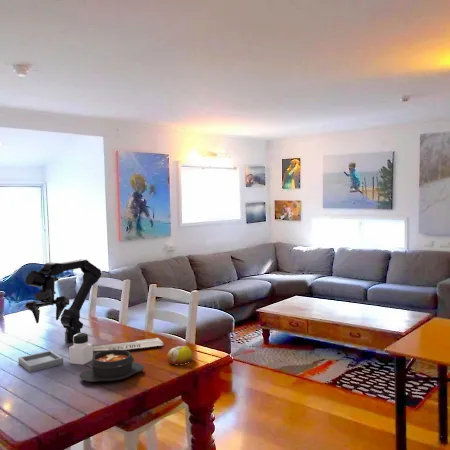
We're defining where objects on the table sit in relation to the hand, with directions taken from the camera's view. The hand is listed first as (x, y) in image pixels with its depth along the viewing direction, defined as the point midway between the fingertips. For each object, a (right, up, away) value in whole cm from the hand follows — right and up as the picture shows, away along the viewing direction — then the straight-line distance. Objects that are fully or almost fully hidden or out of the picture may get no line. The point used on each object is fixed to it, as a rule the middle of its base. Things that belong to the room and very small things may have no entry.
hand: (47, 321), depth 214 cm
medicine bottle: (+19, -15, -10) cm, 26 cm away
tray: (+2, -16, -12) cm, 20 cm away
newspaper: (+34, -15, +6) cm, 38 cm away
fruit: (+61, -15, -11) cm, 64 cm away
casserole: (+36, -16, -27) cm, 48 cm away
